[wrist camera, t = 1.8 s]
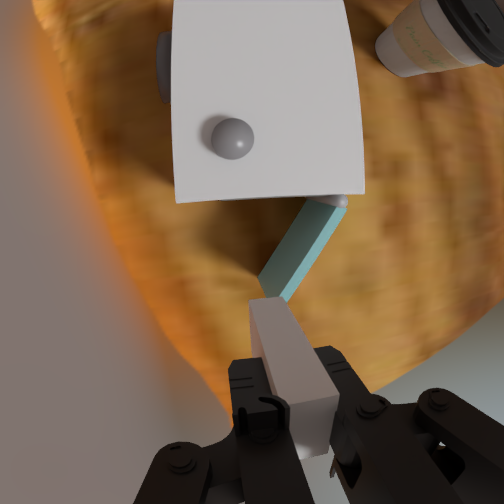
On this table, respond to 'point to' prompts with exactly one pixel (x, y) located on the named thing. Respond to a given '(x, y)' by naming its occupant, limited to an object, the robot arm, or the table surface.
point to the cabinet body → (261, 99)
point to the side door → (302, 244)
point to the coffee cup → (443, 37)
